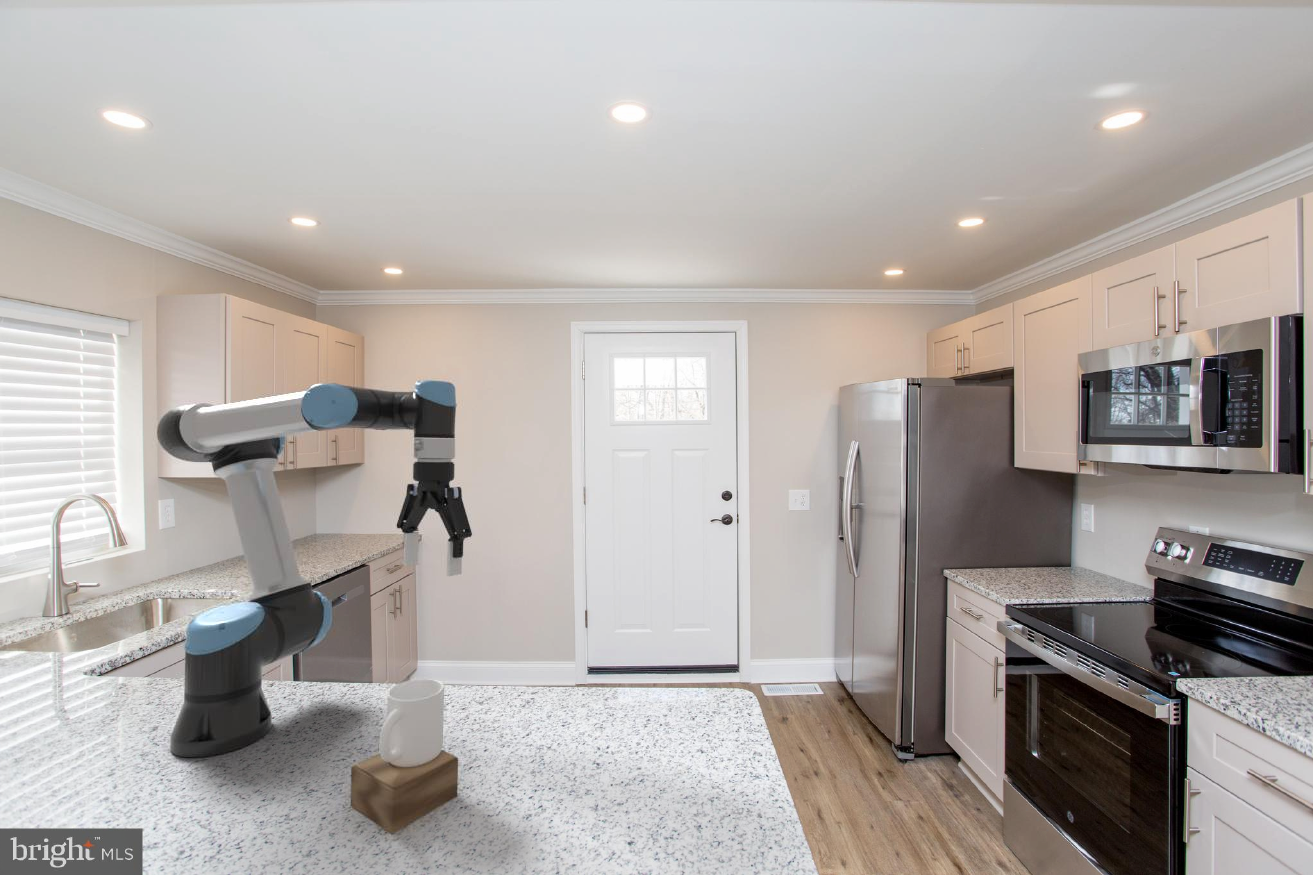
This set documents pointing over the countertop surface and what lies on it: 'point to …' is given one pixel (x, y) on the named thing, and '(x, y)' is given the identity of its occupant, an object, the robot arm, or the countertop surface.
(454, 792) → the walnut block
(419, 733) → the mug
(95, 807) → the countertop surface
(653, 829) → the countertop surface
